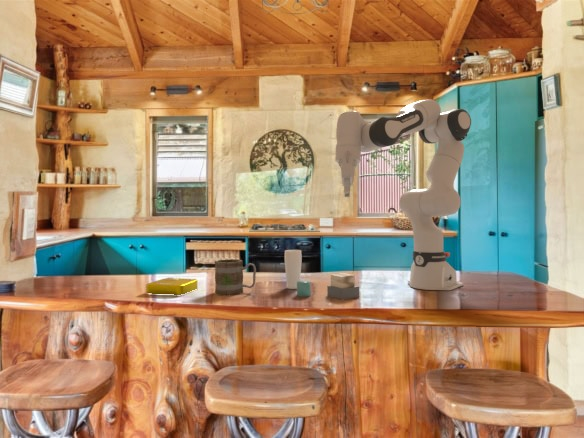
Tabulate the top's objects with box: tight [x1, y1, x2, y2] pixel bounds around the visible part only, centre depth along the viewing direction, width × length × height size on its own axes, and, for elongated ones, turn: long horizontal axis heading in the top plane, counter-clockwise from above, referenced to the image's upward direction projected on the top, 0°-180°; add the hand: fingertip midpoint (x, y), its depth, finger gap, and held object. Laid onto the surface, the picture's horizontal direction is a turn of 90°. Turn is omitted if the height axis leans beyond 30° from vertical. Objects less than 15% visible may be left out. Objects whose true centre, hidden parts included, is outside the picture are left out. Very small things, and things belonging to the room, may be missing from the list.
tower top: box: [330, 272, 356, 288], centre depth 146 cm, size 6×6×4 cm
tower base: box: [326, 284, 360, 301], centre depth 146 cm, size 8×8×4 cm
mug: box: [214, 258, 257, 297], centre depth 154 cm, size 16×11×12 cm
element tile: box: [145, 277, 198, 295], centre depth 157 cm, size 15×15×5 cm
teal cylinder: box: [296, 280, 312, 298], centre depth 148 cm, size 5×5×5 cm
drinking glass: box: [284, 249, 303, 290], centre depth 161 cm, size 7×7×15 cm
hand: (346, 195), depth 143 cm, fingers open, 8 cm apart
